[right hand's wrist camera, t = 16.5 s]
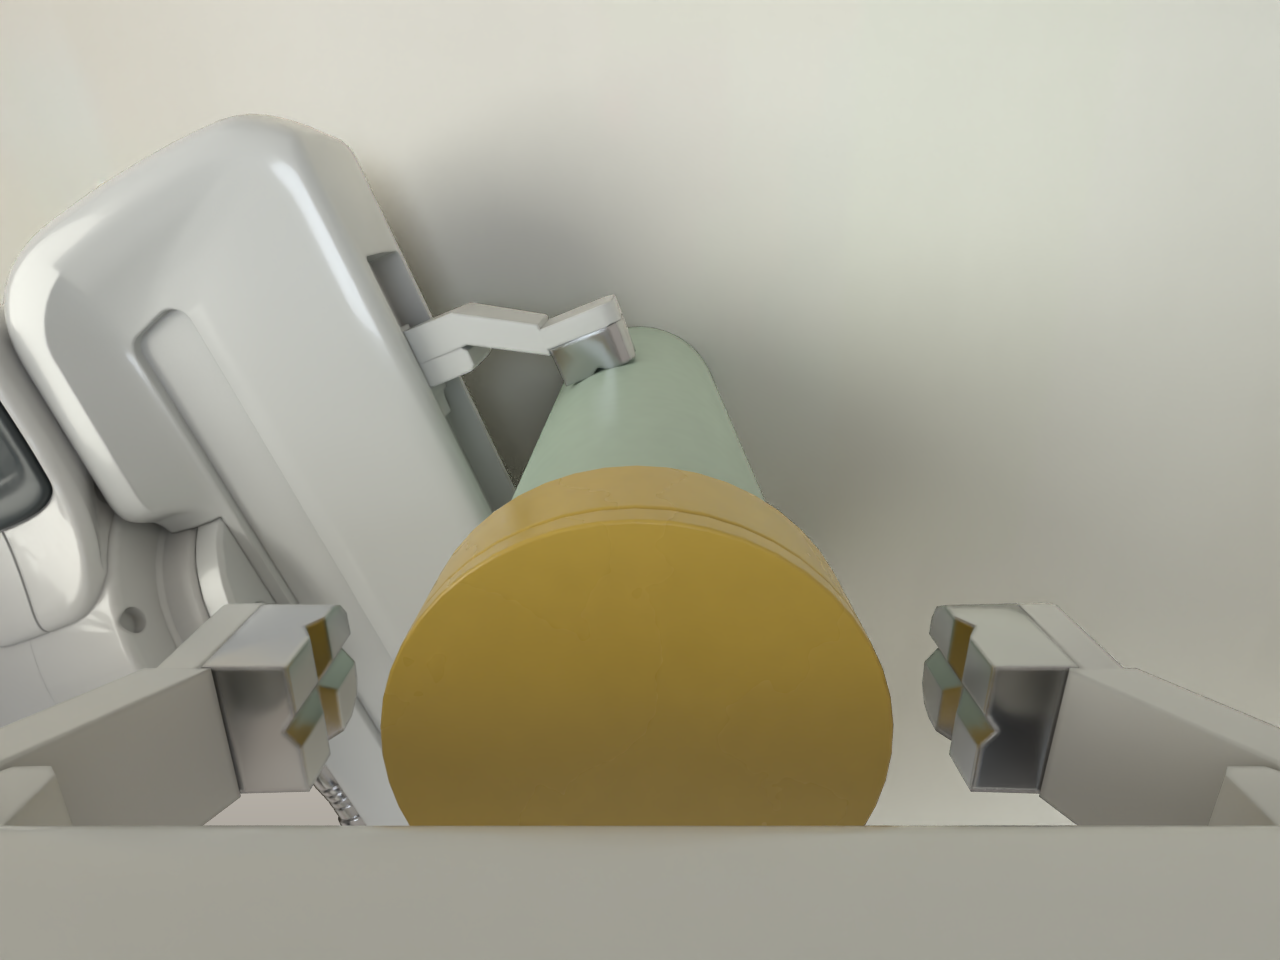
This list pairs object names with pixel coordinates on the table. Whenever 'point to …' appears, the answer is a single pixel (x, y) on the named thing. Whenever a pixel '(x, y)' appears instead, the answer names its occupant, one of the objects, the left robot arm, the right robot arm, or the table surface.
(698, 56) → the table surface
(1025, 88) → the table surface
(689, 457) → the pale green cylinder
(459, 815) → the lid
